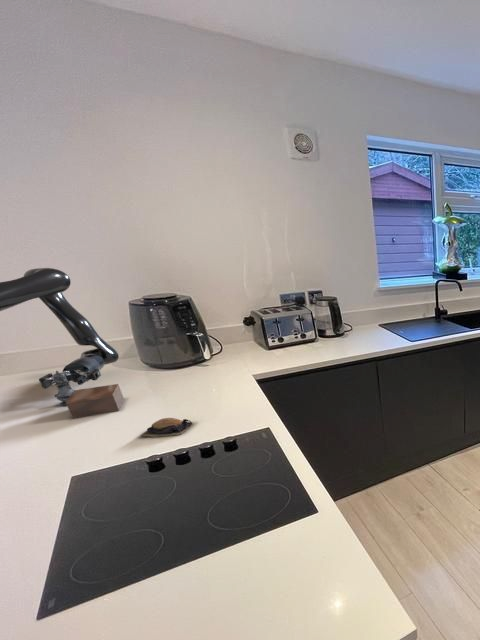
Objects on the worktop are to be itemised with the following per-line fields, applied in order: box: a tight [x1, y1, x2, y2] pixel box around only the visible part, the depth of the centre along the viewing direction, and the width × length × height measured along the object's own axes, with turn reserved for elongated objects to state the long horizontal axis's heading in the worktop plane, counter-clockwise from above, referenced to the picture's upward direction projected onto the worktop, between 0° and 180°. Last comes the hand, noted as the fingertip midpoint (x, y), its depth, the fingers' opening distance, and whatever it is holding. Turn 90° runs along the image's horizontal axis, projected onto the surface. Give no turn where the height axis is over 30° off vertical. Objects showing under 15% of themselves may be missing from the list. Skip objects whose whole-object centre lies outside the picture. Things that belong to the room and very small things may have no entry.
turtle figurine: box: [141, 417, 194, 438], centre depth 122 cm, size 11×8×4 cm
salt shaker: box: [52, 370, 75, 407], centre depth 136 cm, size 6×6×12 cm
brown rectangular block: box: [66, 383, 125, 420], centre depth 134 cm, size 11×11×6 cm
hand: (61, 384), depth 136 cm, fingers open, 8 cm apart
